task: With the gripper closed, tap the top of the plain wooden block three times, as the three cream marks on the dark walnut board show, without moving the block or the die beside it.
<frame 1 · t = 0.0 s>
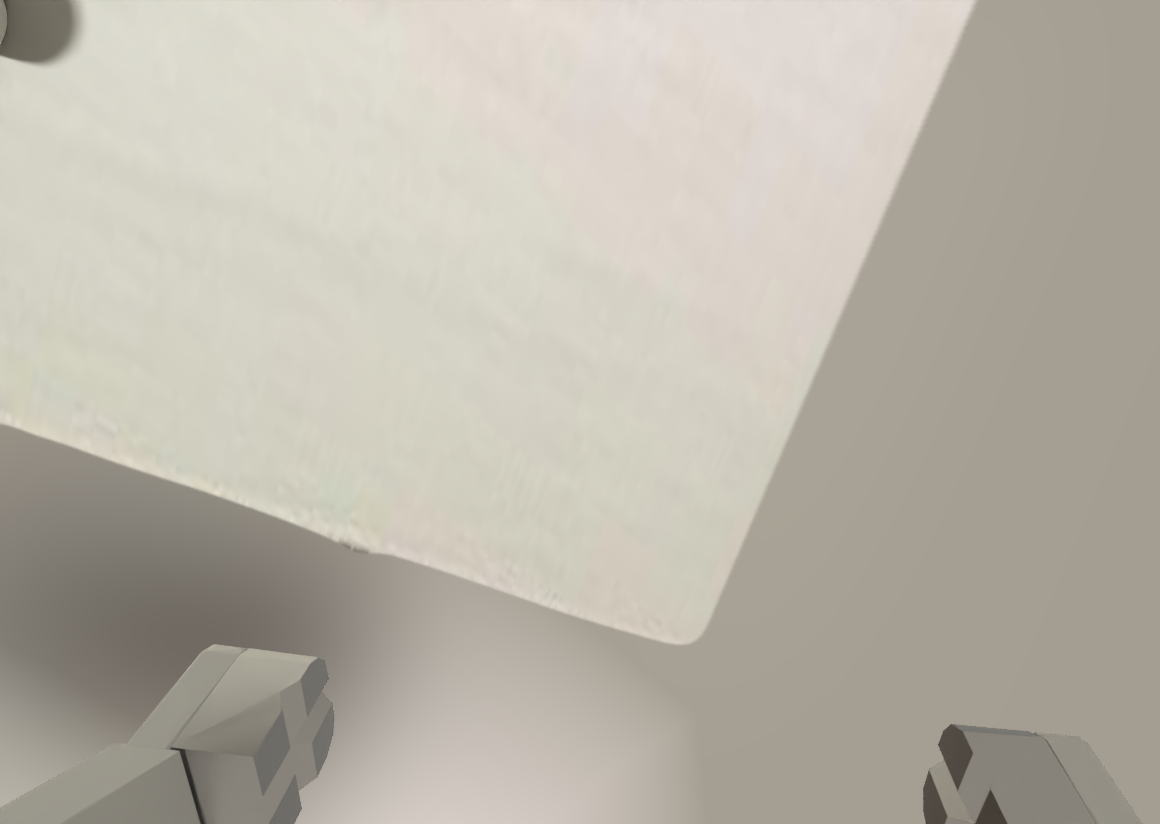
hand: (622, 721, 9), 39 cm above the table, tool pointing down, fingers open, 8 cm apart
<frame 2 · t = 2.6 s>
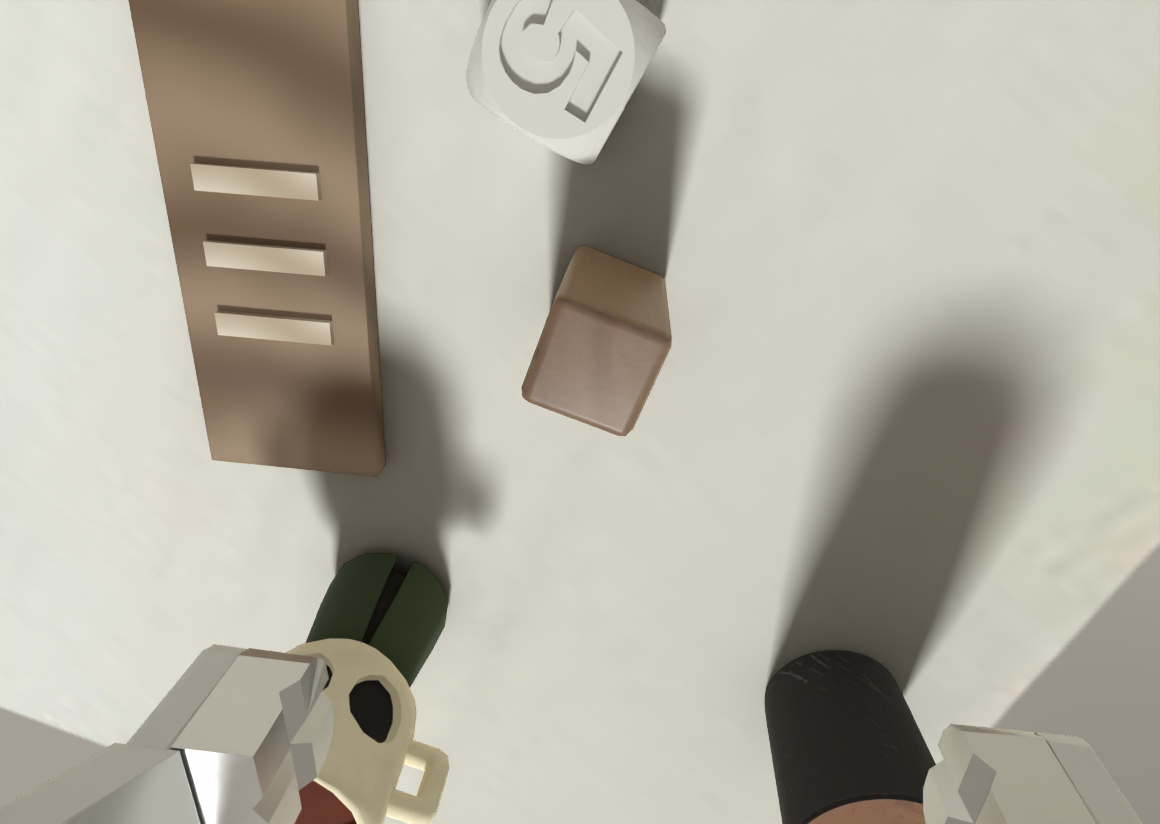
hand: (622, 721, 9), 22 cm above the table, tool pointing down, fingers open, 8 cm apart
tally board: (281, 251, 30), on the table
character mug: (394, 591, 37), on the table
wooden block: (606, 301, 30), on the table
die: (572, 62, 26), on the table
travel mug: (829, 696, 38), on the table
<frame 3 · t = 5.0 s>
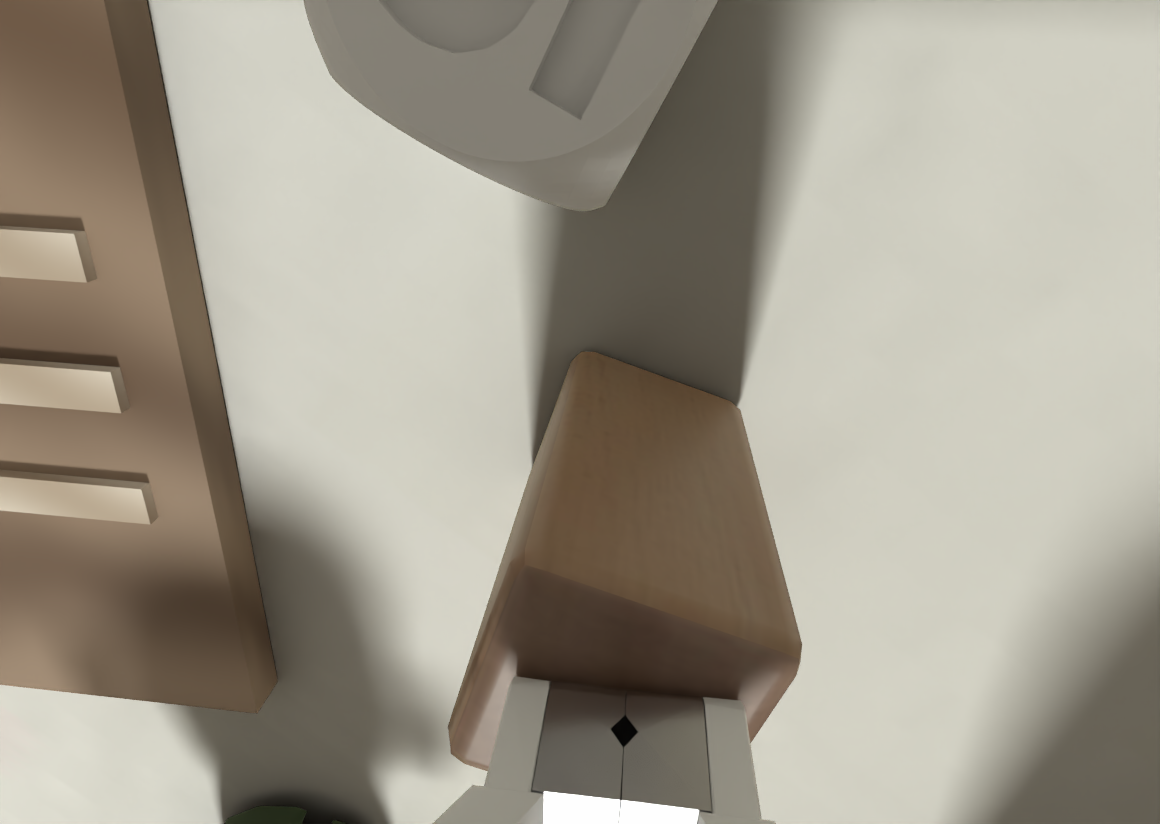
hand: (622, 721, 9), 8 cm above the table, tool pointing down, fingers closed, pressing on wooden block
tally board: (61, 361, 17), on the table
wooden block: (631, 439, 17), on the table, touching gripper
die: (559, 3, 13), on the table
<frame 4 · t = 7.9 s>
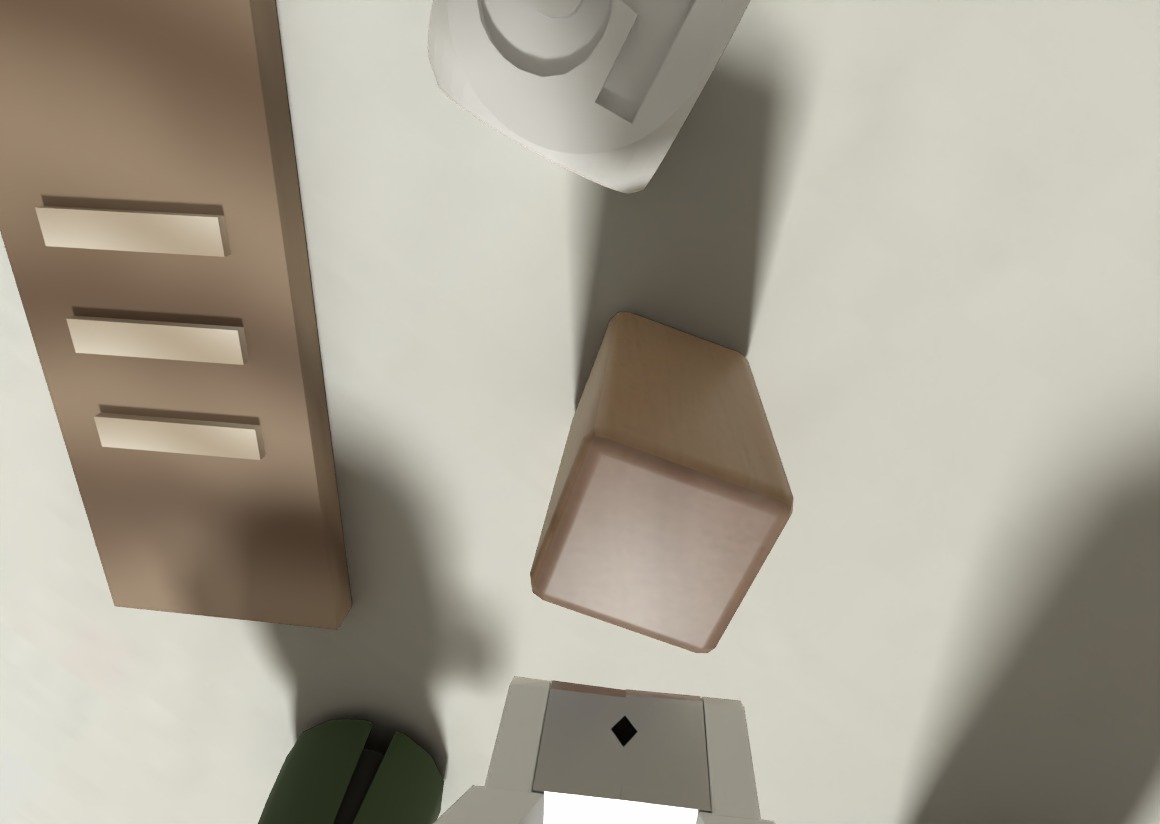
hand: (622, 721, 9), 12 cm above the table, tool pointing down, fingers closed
tally board: (188, 325, 21), on the table
character mug: (374, 760, 28), on the table
wooden block: (657, 388, 20), on the table
die: (603, 33, 17), on the table
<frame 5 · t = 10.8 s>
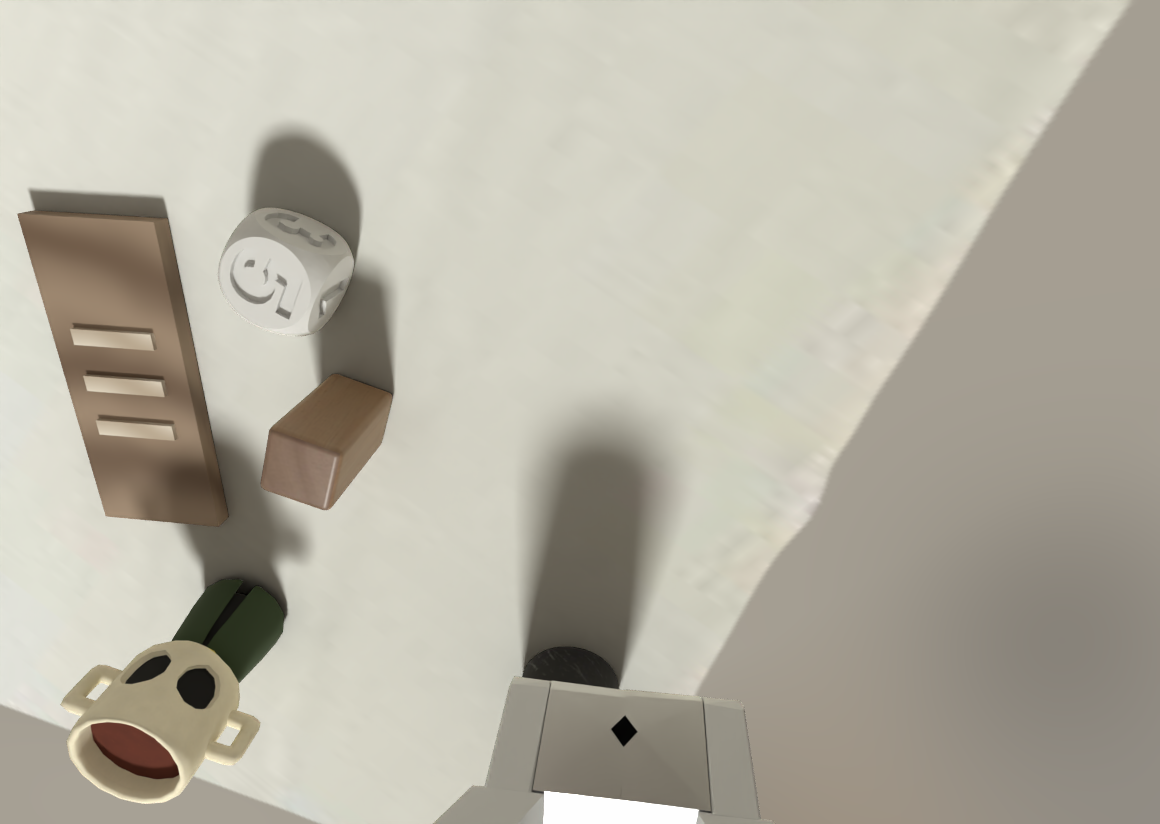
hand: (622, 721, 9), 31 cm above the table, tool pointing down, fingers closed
tally board: (140, 377, 44), on the table
character mug: (249, 606, 51), on the table
wooden block: (359, 407, 43), on the table
die: (311, 261, 40), on the table
travel mug: (570, 681, 51), on the table
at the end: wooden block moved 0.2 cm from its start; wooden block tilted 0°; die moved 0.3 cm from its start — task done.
